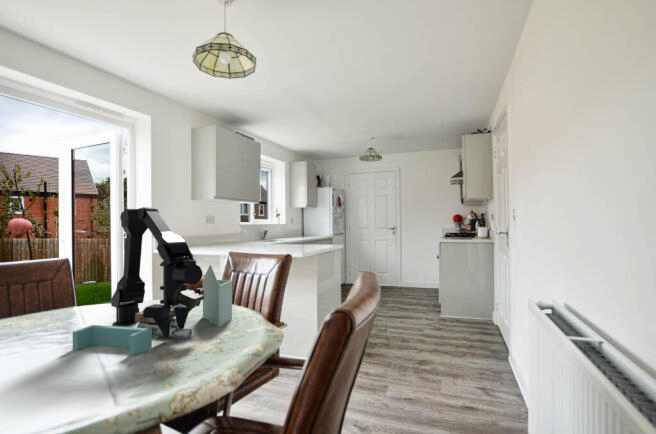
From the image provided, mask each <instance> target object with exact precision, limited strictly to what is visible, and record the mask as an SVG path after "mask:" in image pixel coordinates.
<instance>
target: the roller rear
mask: <svg viewBox="0 0 656 434" xmlns="http://www.w3.org/2000/svg"><path fill="white" fill-rule="evenodd" d="M170 324H171V327H175V328H178V325H177V320H176V317H174V318H171V320H170Z"/></svg>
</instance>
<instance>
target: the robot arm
mask: <svg viewBox="0 0 656 434" xmlns="http://www.w3.org/2000/svg"><path fill="white" fill-rule="evenodd" d="M119 218H120V222H121V228H122V229H123V231H124V232H125V234H126V235H125V236H126V237H125V247H124V248H125V249H124V261H123V262H124V263H123V276H122V277H121V278H120V279H119V280H118V282H117V284H116V290H115V291H114V293H113V295H112V297H111V299H110V305H111V307H113V308H116V309H115V312H116V314H115V315H116V317H115V319H116V321H114V322H112V325H116V326H117V325H120V326H121V325H122V326H129V325H132V324H134V323H136V322H135V314H136V313H139V312H140V308H139V304H143V303H144V299H145V294H146V290H145V289H146V283H145V281H143V279H142V278H141V276H140V275H141V262H142V261H141V259H142V249H143V246H142V245H143V235H144V234H145V232H147V230H149V232H150V233H151V234H152V236H153V237H154V239H155V240H156V242H157V246H156V250H157V252H158V255H159V257H160V258H161V260H162V261H161V262H160V264H159V265H160V266H159V267H163V268H162V270H163V271H162V272H163V273H162V280H163V283H162V285H161V286H159V290H160V291H162V293H163V295H162V296H163V298H162V299H160V300H159V304H157V303H155V304H154V303H153V304H151V305H148V306H146V307H144V308H143V310H142V311H143V317H144V318H153V319H154V321H155V322H156V323H157V325H158V326H159V328H160V330H161V332H162V333H163V335H164V337H165V338H164V339H169V338H168V337H169V332H170V320H171V318H172V317H173V316H174V314H171V313H170V312H171V309H174V311H175V316H176V317H175V318H176V320H177V325H178V327H177V328H184V329H185V325H186V322H187V319H188V315H189V314H190V312H191V311H192V310H193V309H195V308H196V307H199V306H200V305H201V303H202V301H203V299H204V290H203V288H201V287H199V288H196V289H195V290H193V289H191V290H190V289H189V285H192V286H194V285H197V284H198V283H199V282H201V280H202V279H203V270H202V268H201V267H200V266H199V265H198V264H197V260H195V258H194V255H193V253H192V252H191V250H190V247H189V245H188V243H187V242H186V240H185V239H183V237H181V235H179V234H175V233H174V232H172V230H171V229H170V228H169V225H168V224H167V223H166V221H164V219H163V218H162V216H161V215H160V212H159V210H158V208H155V207H150V206H149V207H145V206H144V207H140V208H126V209H124V210H123V211H122V212H121V213H120V217H119Z"/></svg>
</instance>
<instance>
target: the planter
mask: <svg viewBox="0 0 656 434" xmlns="http://www.w3.org/2000/svg"><path fill="white" fill-rule="evenodd" d="M232 282H233V281H232V280H231V279H217V277H216V274H215V272H214V269H213V265H212V264H210V265H209V266H208V268H207V271H206V272H205V274H204V277H202V289H203V290H204V299H203V300H202V318H204V319H206V320H207V321H209V322H210V323H211V324H213V325H214V326H216V327H218V328H220V327H222V326H224V324H226V323H227V322H229V321H230V320H232V318H233V287H232V286H233V285H232V284H233V283H232Z"/></svg>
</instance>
